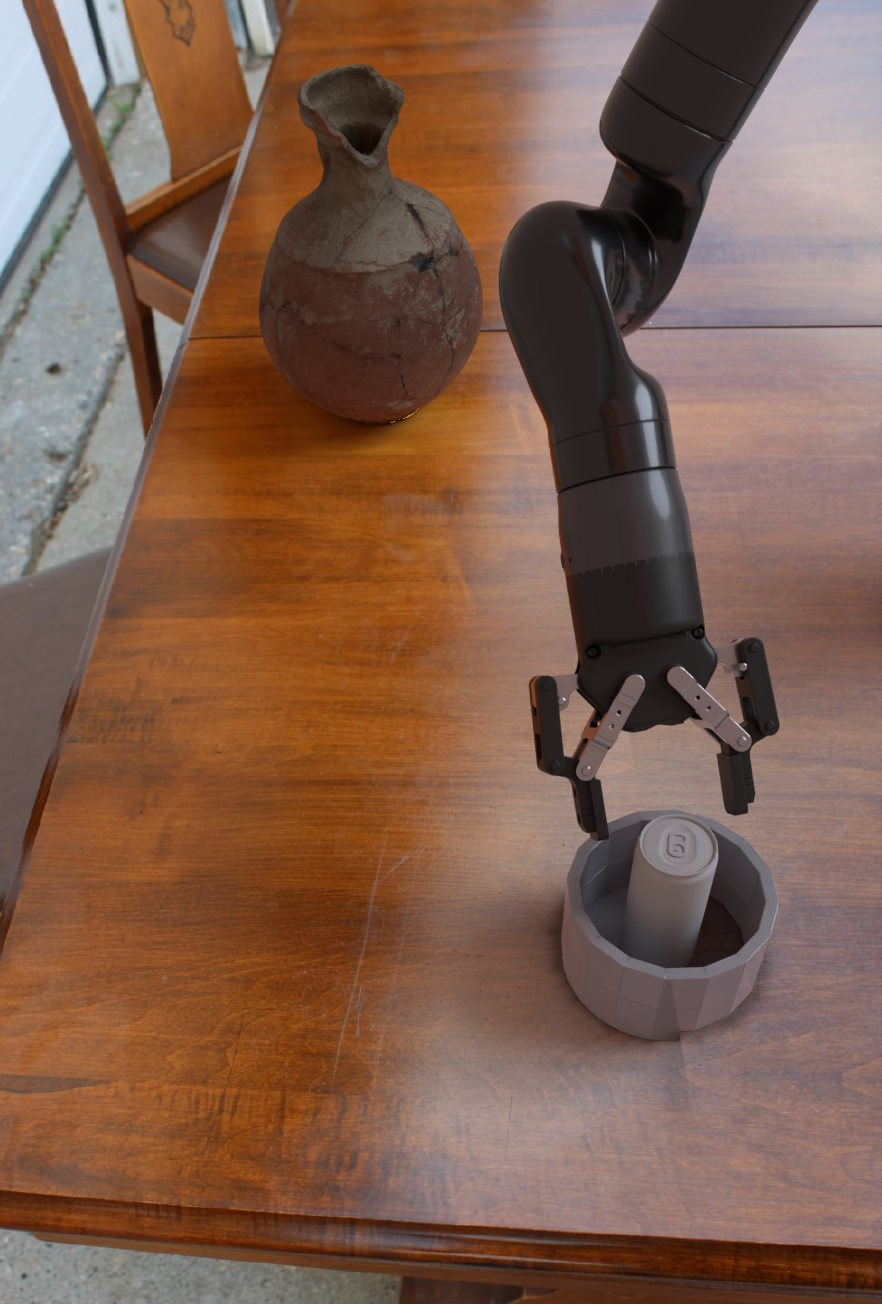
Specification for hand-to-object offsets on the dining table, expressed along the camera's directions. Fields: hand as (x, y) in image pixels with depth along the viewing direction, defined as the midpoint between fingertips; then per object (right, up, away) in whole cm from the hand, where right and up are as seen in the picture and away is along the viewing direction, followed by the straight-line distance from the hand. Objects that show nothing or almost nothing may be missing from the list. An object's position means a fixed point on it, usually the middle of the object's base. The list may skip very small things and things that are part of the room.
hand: (668, 826), depth 73 cm
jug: (-16, +43, +51) cm, 69 cm away
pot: (+1, -9, +8) cm, 12 cm away
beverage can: (+1, -8, +8) cm, 11 cm away
